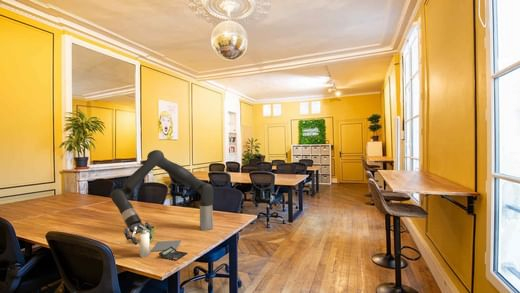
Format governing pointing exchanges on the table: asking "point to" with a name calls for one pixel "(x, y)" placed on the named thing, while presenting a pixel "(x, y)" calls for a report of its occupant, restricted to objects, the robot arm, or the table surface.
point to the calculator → (172, 254)
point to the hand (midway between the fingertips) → (143, 241)
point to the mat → (165, 245)
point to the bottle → (144, 244)
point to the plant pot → (152, 232)
